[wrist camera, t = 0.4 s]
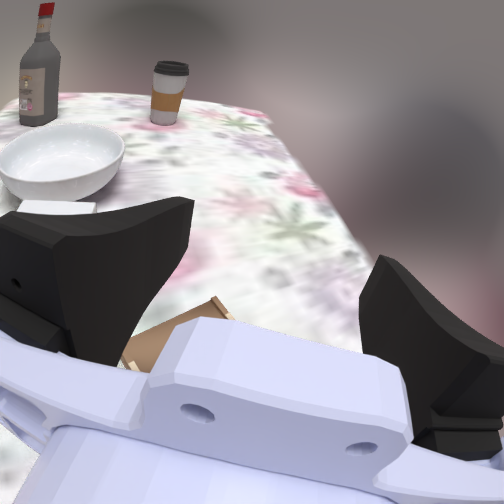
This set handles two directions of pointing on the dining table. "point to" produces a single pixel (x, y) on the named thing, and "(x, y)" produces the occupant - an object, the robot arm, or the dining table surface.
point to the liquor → (40, 75)
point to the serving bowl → (61, 161)
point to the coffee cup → (167, 91)
